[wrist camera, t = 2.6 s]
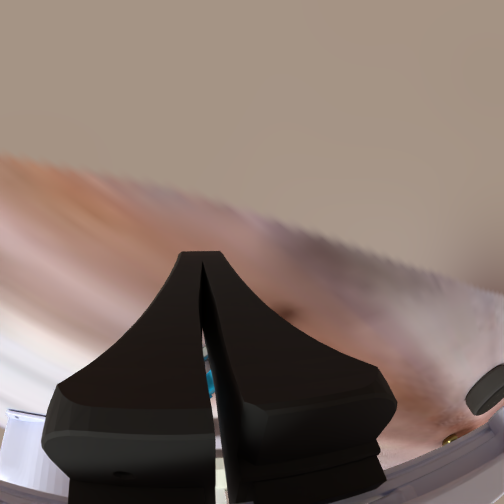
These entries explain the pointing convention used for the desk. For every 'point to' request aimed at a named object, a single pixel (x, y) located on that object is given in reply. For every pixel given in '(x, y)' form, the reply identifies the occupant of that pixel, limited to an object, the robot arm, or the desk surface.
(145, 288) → the desk surface
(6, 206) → the desk surface
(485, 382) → the smart speaker
